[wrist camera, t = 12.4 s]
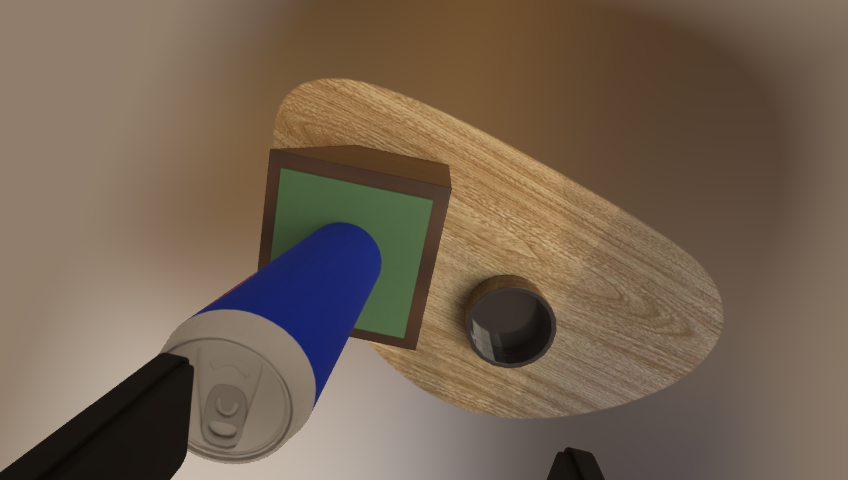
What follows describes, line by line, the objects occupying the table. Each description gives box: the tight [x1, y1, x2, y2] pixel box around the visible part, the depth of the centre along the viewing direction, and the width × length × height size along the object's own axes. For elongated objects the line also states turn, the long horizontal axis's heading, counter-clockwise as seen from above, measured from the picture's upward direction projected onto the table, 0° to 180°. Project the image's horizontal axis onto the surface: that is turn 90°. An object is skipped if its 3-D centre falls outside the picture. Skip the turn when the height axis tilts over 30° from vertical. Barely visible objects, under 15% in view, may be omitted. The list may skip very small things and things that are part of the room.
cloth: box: [270, 168, 433, 338], centre depth 27 cm, size 10×10×1 cm
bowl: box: [465, 275, 556, 368], centre depth 52 cm, size 11×11×4 cm
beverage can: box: [158, 222, 382, 464], centre depth 19 cm, size 5×5×15 cm
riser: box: [258, 145, 452, 350], centre depth 39 cm, size 12×12×25 cm
